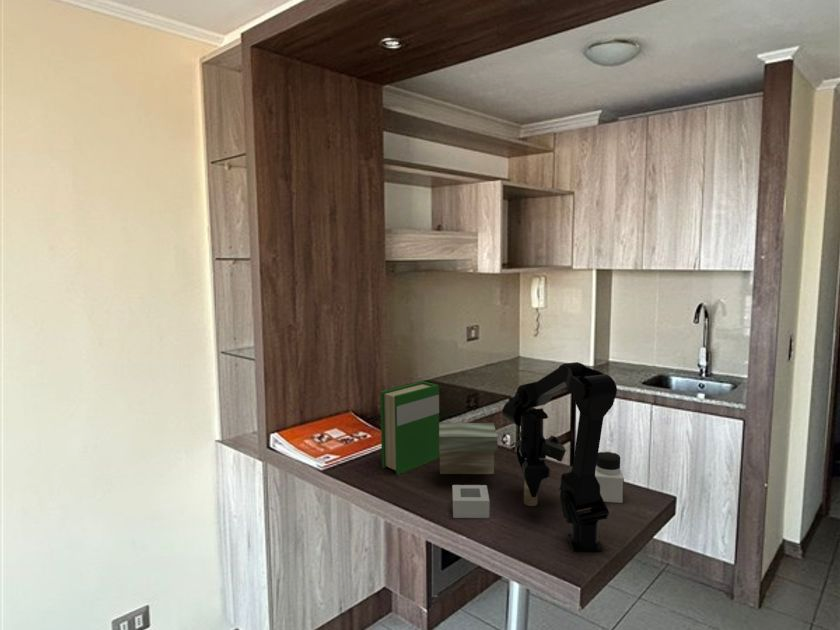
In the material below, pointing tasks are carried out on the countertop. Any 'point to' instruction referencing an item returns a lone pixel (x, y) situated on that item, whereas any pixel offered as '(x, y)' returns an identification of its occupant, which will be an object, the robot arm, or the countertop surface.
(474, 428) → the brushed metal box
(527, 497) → the peg
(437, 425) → the hardback book
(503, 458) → the countertop surface
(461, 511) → the socket block
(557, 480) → the countertop surface
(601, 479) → the medicine bottle
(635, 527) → the countertop surface
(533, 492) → the robot arm
